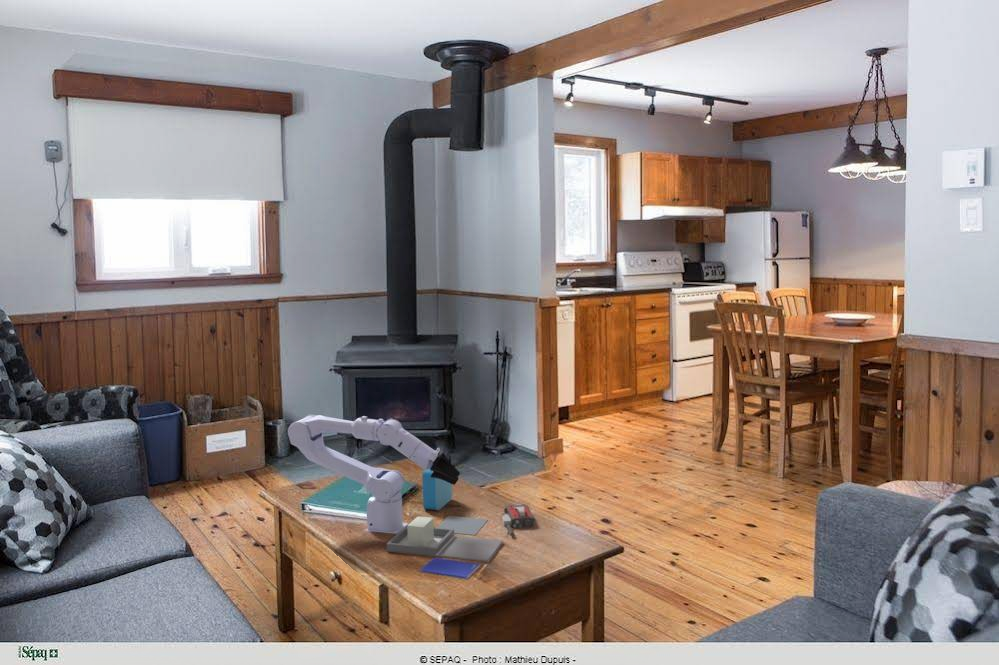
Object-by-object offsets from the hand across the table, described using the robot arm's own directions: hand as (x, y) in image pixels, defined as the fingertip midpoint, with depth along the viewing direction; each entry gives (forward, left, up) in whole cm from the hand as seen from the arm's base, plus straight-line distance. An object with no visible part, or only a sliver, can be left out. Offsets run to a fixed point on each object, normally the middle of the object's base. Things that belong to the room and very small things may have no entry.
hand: (457, 479), depth 213 cm
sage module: (-7, -10, -15) cm, 19 cm away
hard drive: (+6, -23, -16) cm, 29 cm away
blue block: (-14, +21, -16) cm, 30 cm away
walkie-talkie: (+14, +11, -16) cm, 24 cm away
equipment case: (0, -10, -15) cm, 18 cm away
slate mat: (-1, +5, -15) cm, 16 cm away
